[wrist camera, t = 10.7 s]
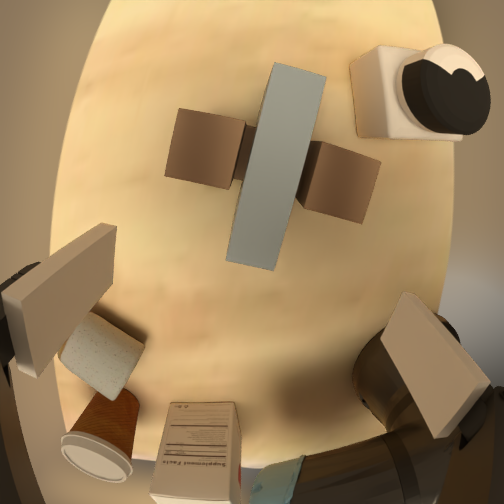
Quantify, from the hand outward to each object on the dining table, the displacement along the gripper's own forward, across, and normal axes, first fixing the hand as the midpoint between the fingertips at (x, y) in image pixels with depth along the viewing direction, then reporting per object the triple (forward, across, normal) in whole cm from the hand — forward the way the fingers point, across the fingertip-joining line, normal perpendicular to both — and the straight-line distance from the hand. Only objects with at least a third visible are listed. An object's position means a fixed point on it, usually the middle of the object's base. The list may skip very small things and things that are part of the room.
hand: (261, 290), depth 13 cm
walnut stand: (+16, 0, -5) cm, 16 cm away
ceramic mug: (+16, +13, +20) cm, 29 cm away
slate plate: (+16, 0, -5) cm, 16 cm away
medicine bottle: (+16, -9, -13) cm, 23 cm away
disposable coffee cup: (+16, +12, +30) cm, 36 cm away
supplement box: (+16, -1, +30) cm, 34 cm away
